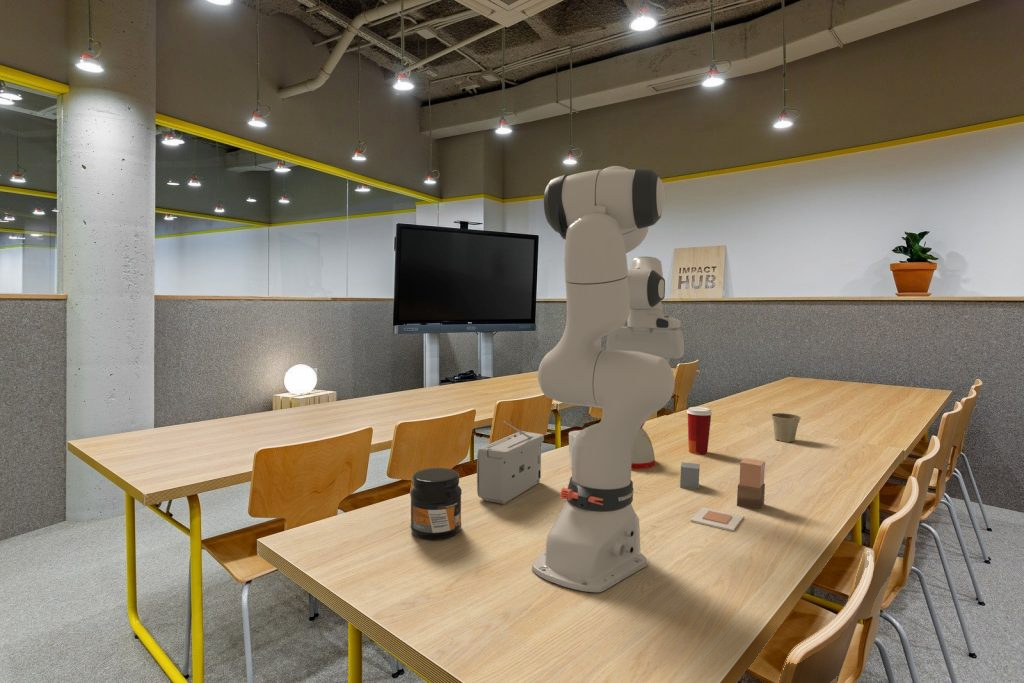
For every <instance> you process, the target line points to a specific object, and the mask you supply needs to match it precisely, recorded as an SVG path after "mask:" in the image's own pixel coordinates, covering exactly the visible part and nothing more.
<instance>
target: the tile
mask: <svg viewBox="0 0 1024 683" xmlns="http://www.w3.org/2000/svg"><path fill="white" fill-rule="evenodd" d="M743 519H744V516H743V515H740V514H735V513H731V512H726V511H721V510H718V509H714V508H713V509H711V508H708V507H703V506H702V507H701V508H700V509H699V510H698V511H697V512H696V513H695V514H694V516H692V517H691V518H690V519H689V520H690V521H689V522H691V523H696V524H701V525H703V526H708V527H713V528H718V529H722V530H725V531H729V532H734V531H735V530H736V529H737V527H738V526H739V524H740V523H741V522H742V521H743Z"/></svg>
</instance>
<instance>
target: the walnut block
mask: <svg viewBox="0 0 1024 683" xmlns="http://www.w3.org/2000/svg"><path fill="white" fill-rule="evenodd" d="M765 491H766V483H764V484H763V486H762V487H761V488H760V489H757V488H752V487H747V486H741V485H739V483H738V485H737V492H736V493H737V494H736V496H737V497H736V507H741V508H746V509H751V510H755V511H758V512H759V511H760V510H762V508H763V506H764V505H765Z"/></svg>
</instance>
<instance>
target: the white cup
mask: <svg viewBox="0 0 1024 683" xmlns="http://www.w3.org/2000/svg"><path fill="white" fill-rule="evenodd" d="M582 430H583V429H579V430H571V431H569V432H568V452H569V454H568V455H569V467H570V469H571V470H572V447H573V441H574V439H575V437H576V435H577V434H578V433H579V432H580V431H582Z"/></svg>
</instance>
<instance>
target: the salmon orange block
mask: <svg viewBox="0 0 1024 683" xmlns="http://www.w3.org/2000/svg"><path fill="white" fill-rule="evenodd" d="M739 462H740V464H739V483H738V484H739V485H741V486H747V487H752V488H757V489H760V488H761V487H762V486H763V484H765V467H766V461H765V460H759V459H753V458H748V457H744V458H743V459H742V460H741V461H739Z"/></svg>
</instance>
